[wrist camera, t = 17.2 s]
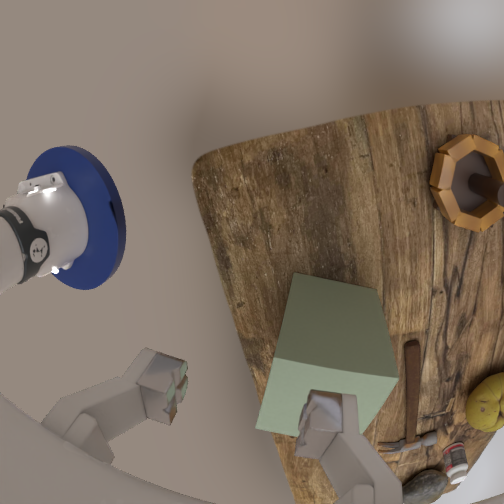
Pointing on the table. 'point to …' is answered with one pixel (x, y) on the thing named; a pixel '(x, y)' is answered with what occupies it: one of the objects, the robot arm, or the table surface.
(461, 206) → the stand
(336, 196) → the table surface
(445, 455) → the pill bottle
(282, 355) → the pedestal
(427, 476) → the stone
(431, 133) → the table surface
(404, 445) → the hammer
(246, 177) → the table surface
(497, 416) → the fruit
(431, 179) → the ring
